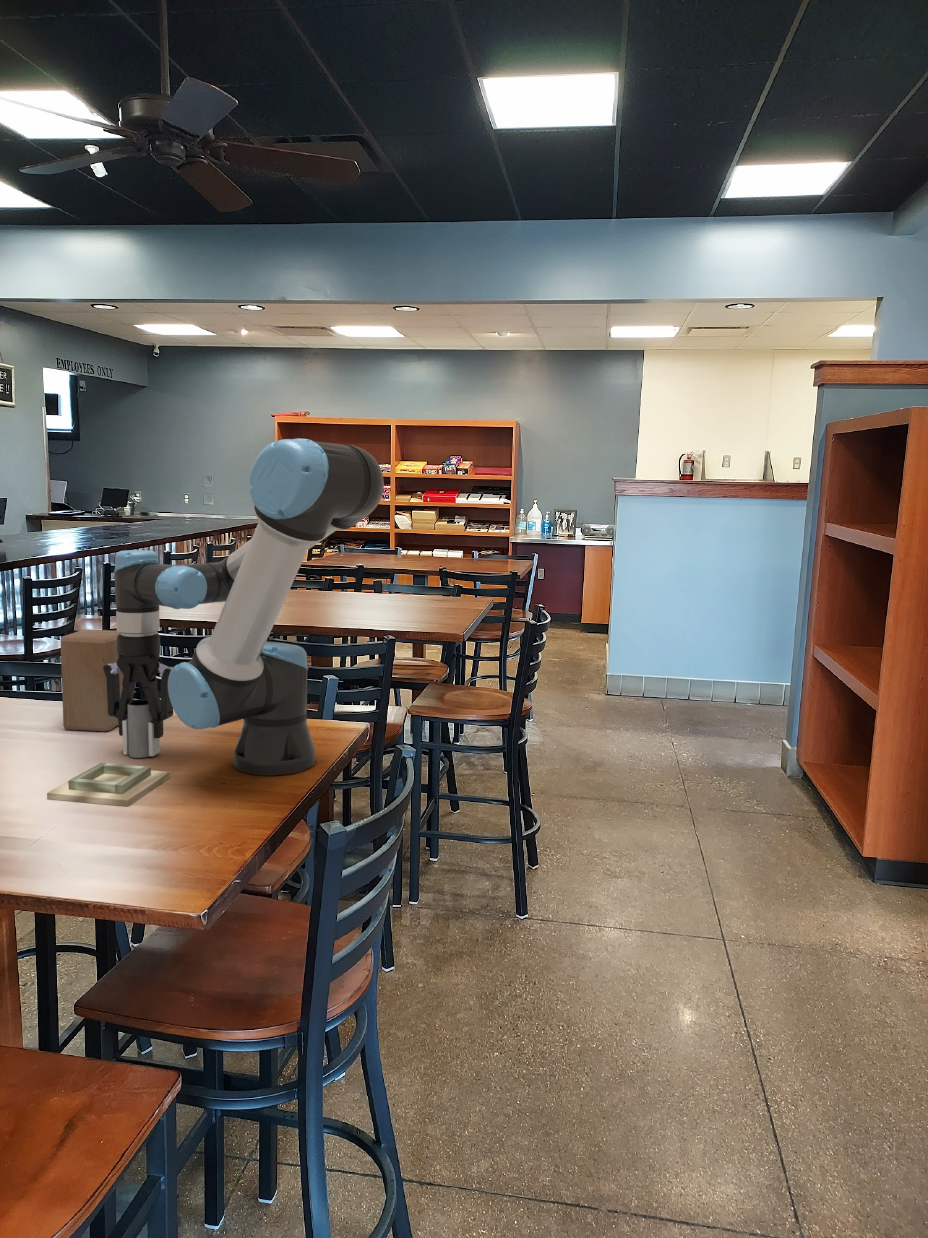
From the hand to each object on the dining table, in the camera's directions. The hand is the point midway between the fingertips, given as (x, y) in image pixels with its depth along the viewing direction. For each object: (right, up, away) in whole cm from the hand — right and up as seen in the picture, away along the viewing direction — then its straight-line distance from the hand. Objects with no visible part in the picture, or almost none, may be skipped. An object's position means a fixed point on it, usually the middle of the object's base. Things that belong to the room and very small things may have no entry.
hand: (141, 752), depth 155 cm
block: (-17, +3, +18) cm, 25 cm away
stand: (+2, -3, -17) cm, 17 cm away
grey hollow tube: (0, -1, 0) cm, 1 cm away
